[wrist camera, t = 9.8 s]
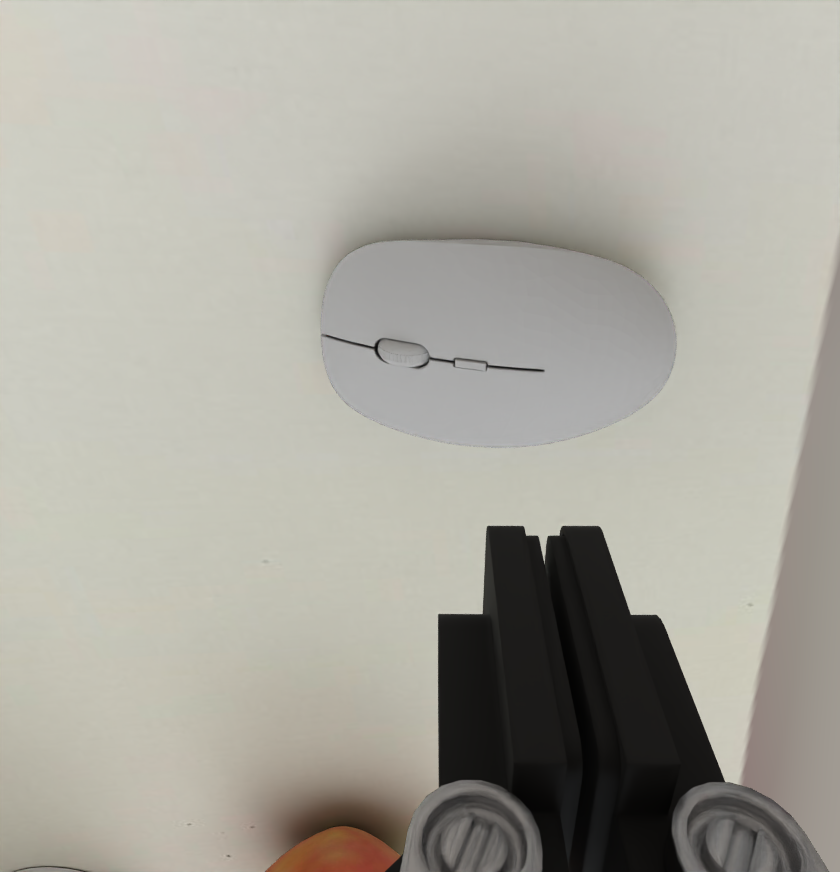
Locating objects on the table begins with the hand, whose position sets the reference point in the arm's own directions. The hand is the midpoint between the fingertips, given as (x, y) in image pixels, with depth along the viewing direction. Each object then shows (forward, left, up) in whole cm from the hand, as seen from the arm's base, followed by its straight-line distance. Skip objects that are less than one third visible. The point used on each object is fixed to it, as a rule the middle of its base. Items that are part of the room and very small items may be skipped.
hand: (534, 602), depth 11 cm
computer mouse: (0, 0, -12) cm, 12 cm away
